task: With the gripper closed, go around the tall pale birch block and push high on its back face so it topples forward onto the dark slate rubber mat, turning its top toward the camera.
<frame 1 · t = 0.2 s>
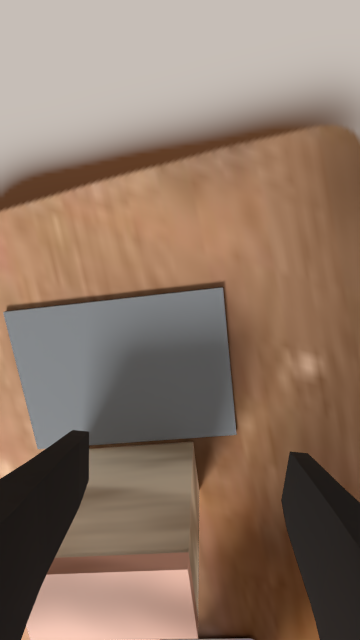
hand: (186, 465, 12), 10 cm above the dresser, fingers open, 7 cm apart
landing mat: (123, 373, 22), on the dresser
birch block: (140, 469, 24), on the dresser
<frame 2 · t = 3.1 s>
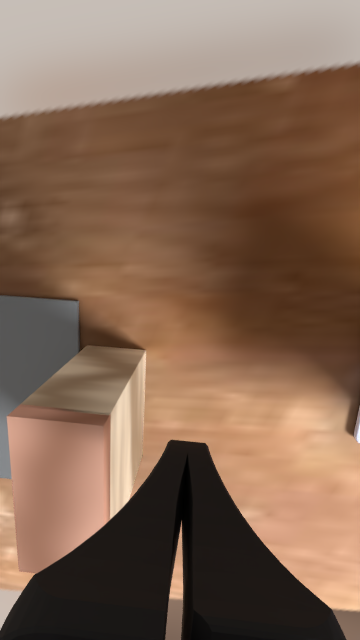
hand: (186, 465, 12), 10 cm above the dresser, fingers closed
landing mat: (12, 392, 24), on the dresser
birch block: (116, 402, 23), on the dresser
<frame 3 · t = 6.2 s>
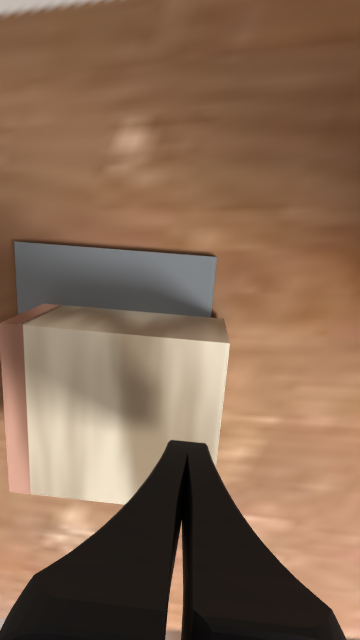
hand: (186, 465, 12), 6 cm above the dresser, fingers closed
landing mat: (112, 379, 18), on the dresser
birch block: (217, 410, 16), point 2 cm above the dresser, tilted 90°, touching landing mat
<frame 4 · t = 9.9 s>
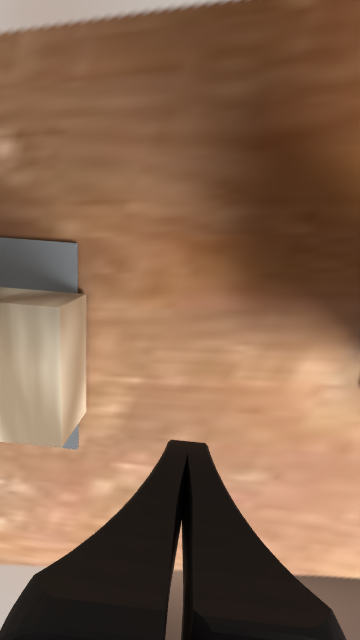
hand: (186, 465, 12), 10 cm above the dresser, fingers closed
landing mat: (3, 346, 22), on the dresser
birch block: (74, 367, 20), point 2 cm above the dresser, tilted 90°, touching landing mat
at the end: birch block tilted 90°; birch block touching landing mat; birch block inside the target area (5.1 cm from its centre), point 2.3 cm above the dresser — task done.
